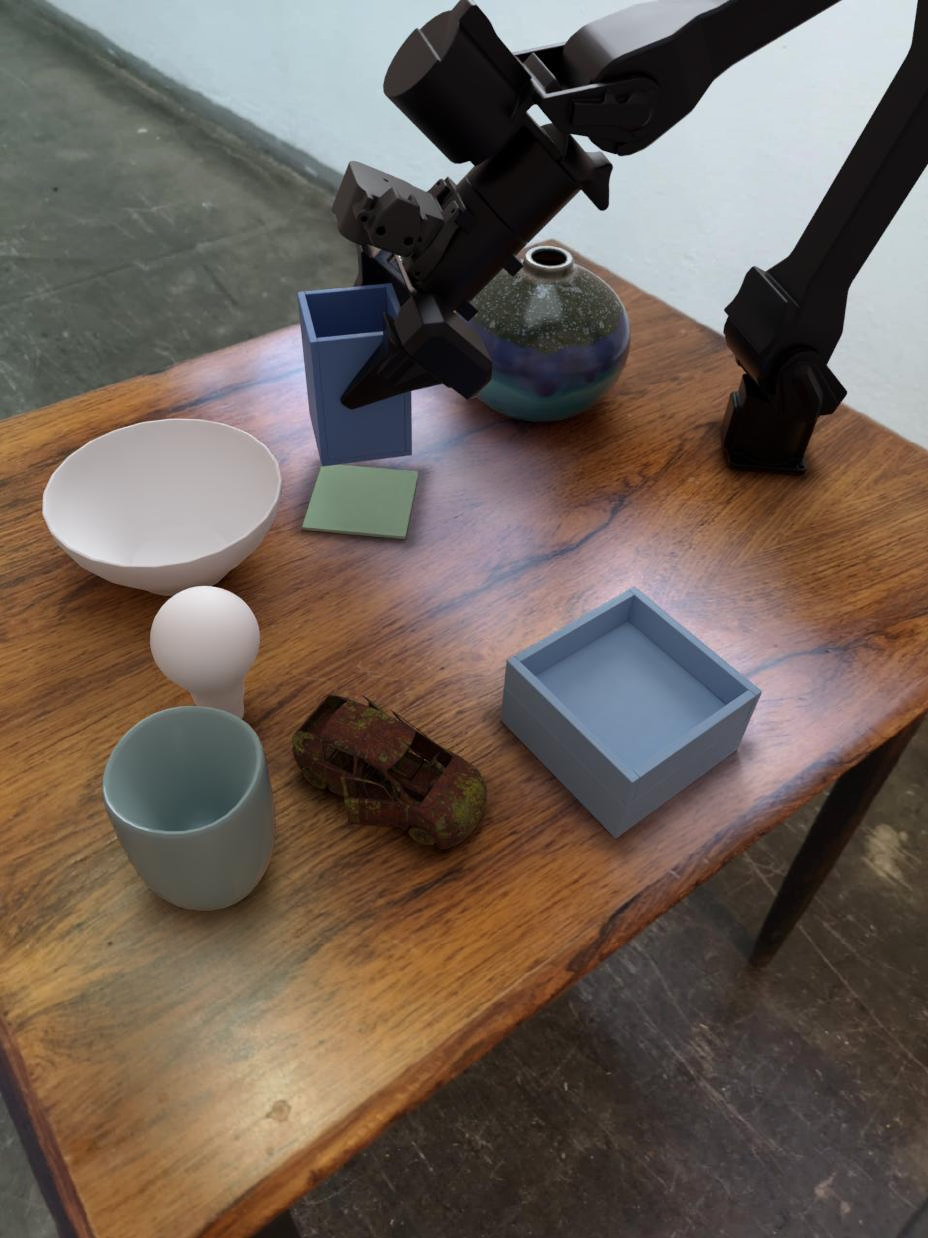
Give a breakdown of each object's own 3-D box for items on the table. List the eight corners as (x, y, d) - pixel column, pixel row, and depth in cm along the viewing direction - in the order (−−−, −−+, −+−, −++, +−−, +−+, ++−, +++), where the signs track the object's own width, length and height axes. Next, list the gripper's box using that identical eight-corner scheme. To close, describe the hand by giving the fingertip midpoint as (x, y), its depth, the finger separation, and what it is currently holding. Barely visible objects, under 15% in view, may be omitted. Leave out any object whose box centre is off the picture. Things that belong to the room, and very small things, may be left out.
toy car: (272, 791, 58) (262, 743, 54) (338, 711, 62) (333, 662, 58) (444, 884, 54) (446, 840, 50) (502, 793, 58) (508, 746, 54)
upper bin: (394, 403, 74) (391, 282, 67) (412, 455, 70) (410, 332, 62) (309, 413, 73) (296, 291, 65) (321, 466, 68) (309, 342, 61)
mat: (418, 474, 79) (418, 471, 78) (405, 539, 73) (405, 536, 73) (322, 465, 79) (322, 462, 79) (302, 529, 73) (301, 527, 73)
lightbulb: (290, 699, 62) (272, 580, 54) (246, 773, 58) (219, 656, 50) (207, 673, 63) (176, 553, 55) (158, 744, 59) (117, 625, 51)
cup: (256, 946, 51) (229, 852, 44) (119, 915, 52) (70, 818, 44) (302, 821, 56) (285, 718, 49) (176, 795, 57) (141, 691, 50)
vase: (416, 409, 85) (416, 266, 75) (503, 333, 94) (513, 197, 84) (570, 470, 80) (592, 326, 70) (646, 384, 89) (675, 246, 79)
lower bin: (619, 646, 67) (634, 585, 62) (737, 749, 61) (762, 691, 56) (499, 719, 62) (506, 659, 57) (615, 839, 56) (632, 783, 52)
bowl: (21, 599, 67) (-12, 524, 62) (153, 470, 78) (134, 397, 72) (217, 670, 64) (200, 596, 59) (329, 524, 74) (322, 451, 69)
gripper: (380, 65, 62) (232, 243, 68) (445, 187, 50) (258, 391, 56) (490, 180, 69) (348, 332, 75) (571, 311, 57) (393, 479, 63)
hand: (337, 376), depth 67 cm, fingers closed on upper bin, 6 cm apart
